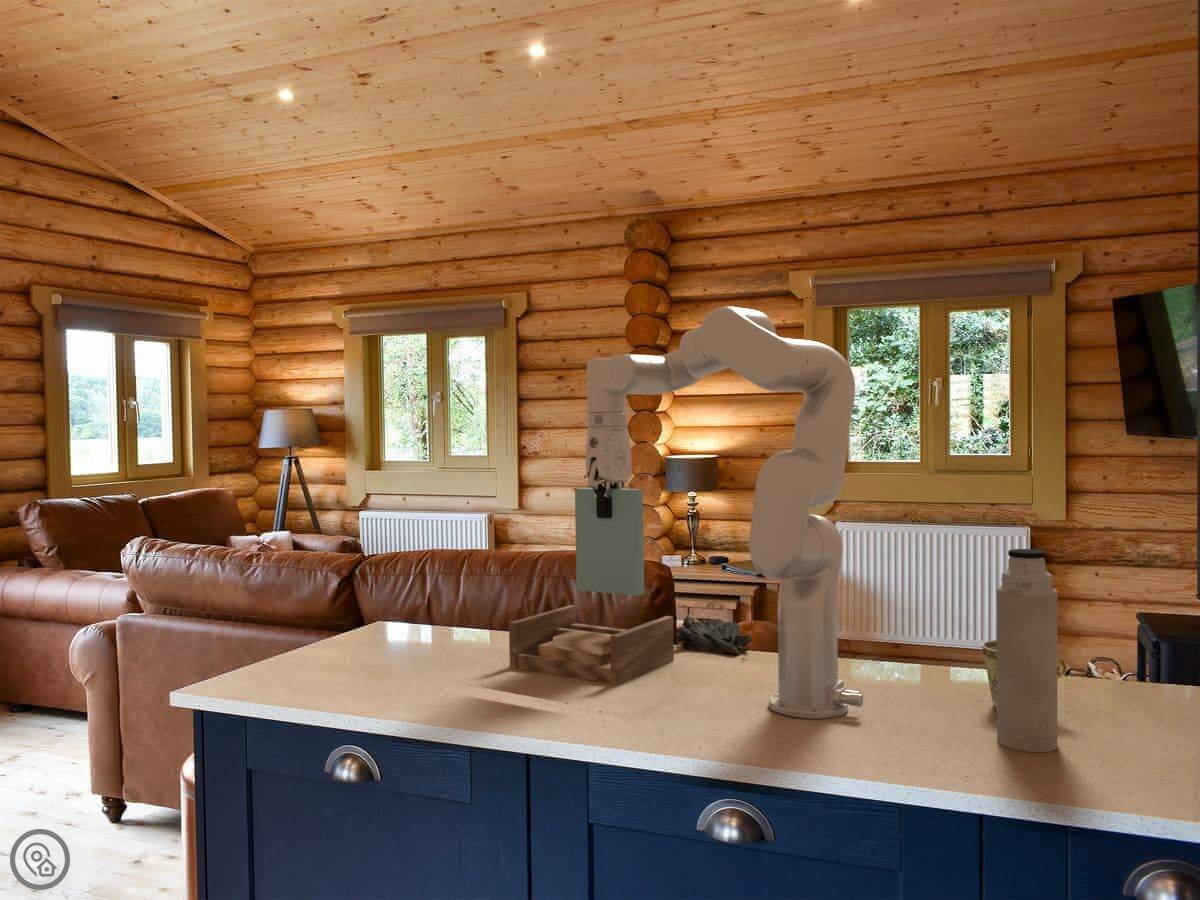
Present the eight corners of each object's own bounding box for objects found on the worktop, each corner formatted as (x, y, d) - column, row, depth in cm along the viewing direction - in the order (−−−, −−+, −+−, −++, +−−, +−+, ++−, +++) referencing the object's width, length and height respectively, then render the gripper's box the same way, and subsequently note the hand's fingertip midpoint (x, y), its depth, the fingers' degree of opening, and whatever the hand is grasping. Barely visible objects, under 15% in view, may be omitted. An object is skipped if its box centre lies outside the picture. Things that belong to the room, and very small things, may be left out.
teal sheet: (644, 593, 181) (642, 489, 180) (637, 595, 179) (635, 489, 178) (583, 588, 188) (582, 487, 188) (576, 590, 186) (574, 488, 186)
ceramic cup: (970, 707, 154) (970, 646, 154) (1001, 695, 161) (1000, 636, 160) (1050, 725, 144) (1050, 660, 144) (1079, 712, 151) (1079, 650, 150)
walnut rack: (673, 668, 181) (673, 616, 180) (618, 694, 164) (617, 636, 164) (571, 653, 194) (570, 604, 194) (509, 675, 177) (509, 622, 177)
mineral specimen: (669, 635, 186) (688, 590, 190) (670, 653, 197) (689, 610, 201) (741, 665, 182) (759, 619, 186) (738, 682, 193) (756, 638, 197)
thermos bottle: (1007, 730, 142) (1007, 544, 141) (1064, 741, 137) (1064, 549, 136) (988, 744, 136) (988, 550, 136) (1047, 756, 131) (1047, 555, 130)
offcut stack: (633, 667, 176) (633, 635, 176) (607, 678, 168) (606, 645, 168) (563, 657, 185) (562, 626, 185) (535, 667, 177) (535, 635, 177)
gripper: (600, 421, 174) (602, 521, 174) (645, 421, 188) (646, 514, 188) (567, 422, 178) (569, 520, 178) (613, 422, 192) (614, 513, 192)
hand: (608, 516), depth 183 cm, fingers closed on teal sheet, 2 cm apart
